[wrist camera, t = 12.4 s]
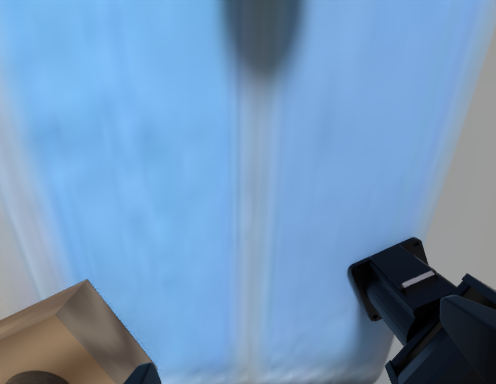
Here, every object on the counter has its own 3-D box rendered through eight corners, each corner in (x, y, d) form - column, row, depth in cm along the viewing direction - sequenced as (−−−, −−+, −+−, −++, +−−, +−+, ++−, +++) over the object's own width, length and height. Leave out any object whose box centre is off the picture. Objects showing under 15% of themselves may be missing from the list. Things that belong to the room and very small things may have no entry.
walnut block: (156, 367, 24) (142, 414, 20) (58, 410, 25) (26, 464, 21) (87, 279, 21) (54, 314, 17) (-23, 331, 22) (-78, 377, 18)
